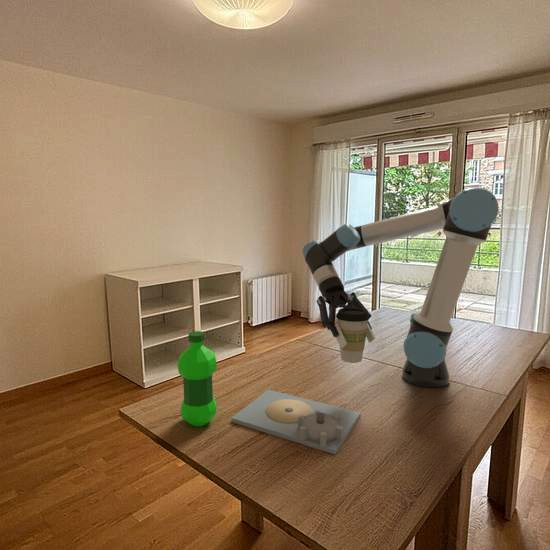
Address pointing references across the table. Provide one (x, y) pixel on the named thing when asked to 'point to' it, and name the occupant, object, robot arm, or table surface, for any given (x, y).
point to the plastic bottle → (197, 381)
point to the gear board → (299, 420)
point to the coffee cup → (353, 333)
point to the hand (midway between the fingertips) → (358, 343)
